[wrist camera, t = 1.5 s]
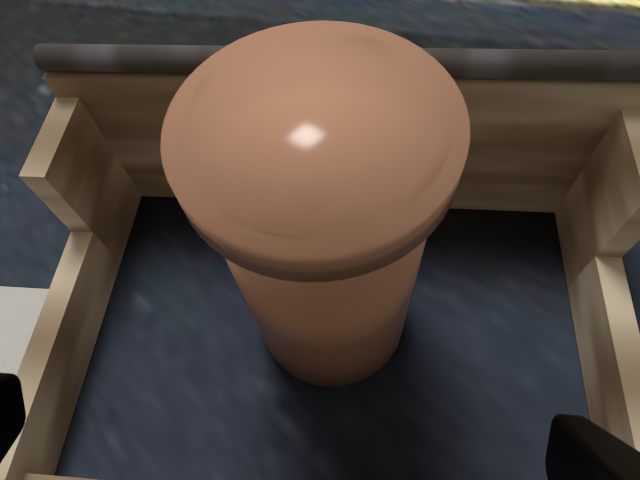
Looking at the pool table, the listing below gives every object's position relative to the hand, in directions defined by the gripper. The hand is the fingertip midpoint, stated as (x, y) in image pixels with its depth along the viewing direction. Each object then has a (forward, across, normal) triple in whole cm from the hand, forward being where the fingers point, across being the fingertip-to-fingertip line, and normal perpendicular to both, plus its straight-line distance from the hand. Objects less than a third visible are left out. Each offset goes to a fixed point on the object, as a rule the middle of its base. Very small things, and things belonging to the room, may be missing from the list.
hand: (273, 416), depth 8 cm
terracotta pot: (+14, 0, +4) cm, 14 cm away
